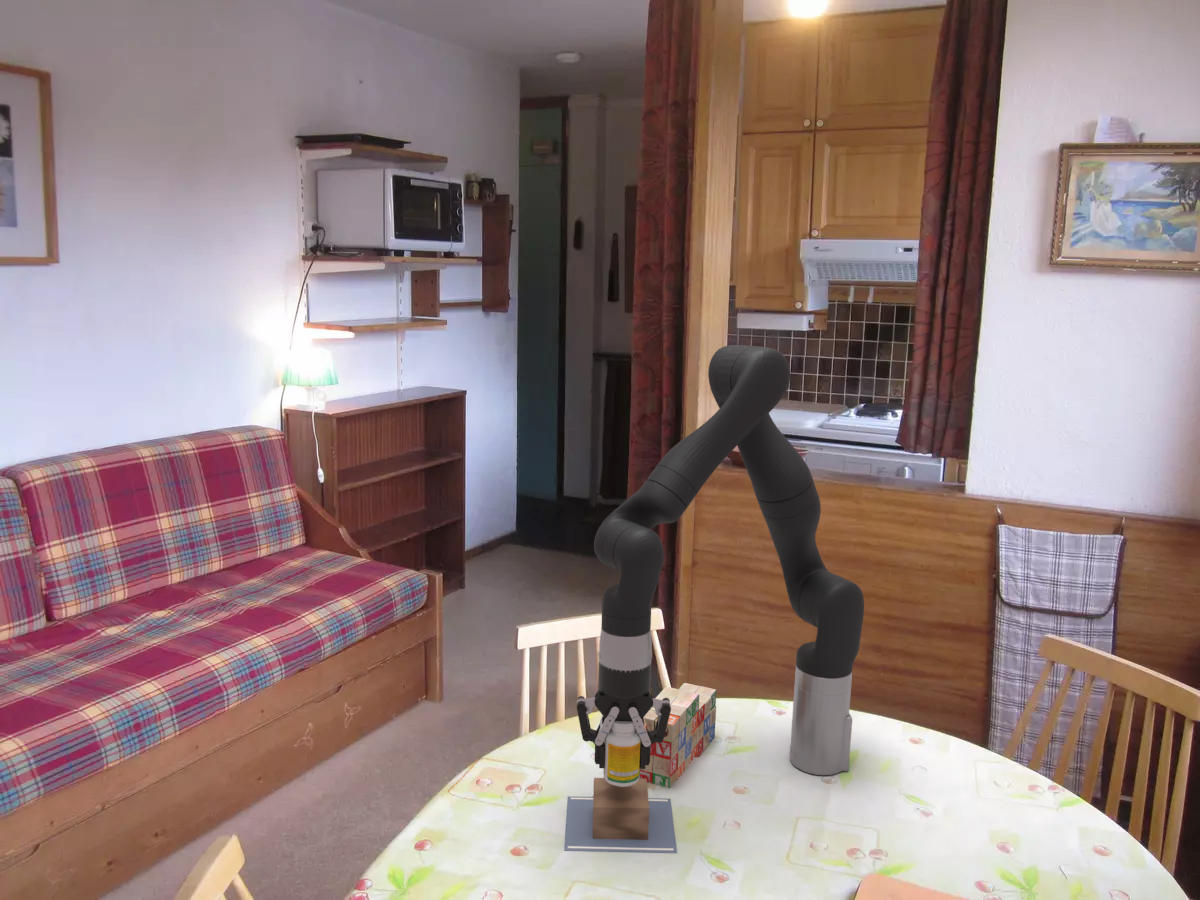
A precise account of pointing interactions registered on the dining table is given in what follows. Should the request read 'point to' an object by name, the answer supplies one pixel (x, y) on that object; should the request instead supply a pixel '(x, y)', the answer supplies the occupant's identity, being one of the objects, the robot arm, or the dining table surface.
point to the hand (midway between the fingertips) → (621, 765)
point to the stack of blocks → (681, 732)
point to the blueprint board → (582, 839)
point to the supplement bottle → (622, 754)
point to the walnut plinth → (620, 810)
